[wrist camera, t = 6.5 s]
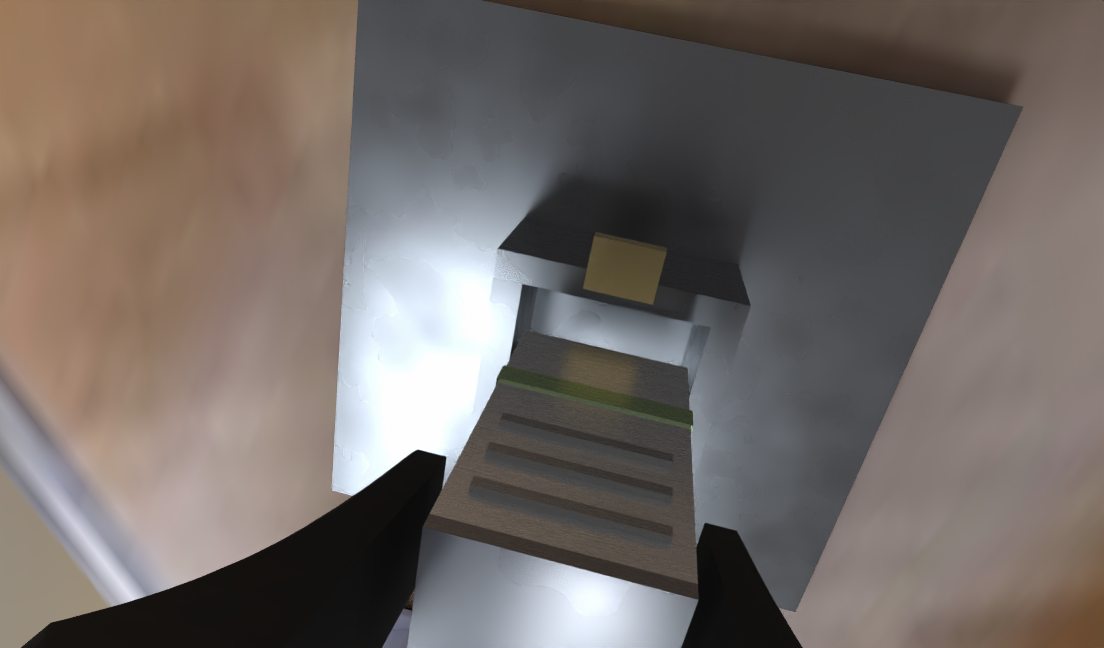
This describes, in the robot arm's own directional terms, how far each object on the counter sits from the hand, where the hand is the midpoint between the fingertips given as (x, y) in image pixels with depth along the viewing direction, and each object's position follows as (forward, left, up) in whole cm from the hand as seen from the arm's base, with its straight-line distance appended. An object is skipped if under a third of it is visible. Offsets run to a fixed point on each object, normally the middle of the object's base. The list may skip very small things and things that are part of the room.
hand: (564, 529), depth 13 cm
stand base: (0, 0, -10) cm, 10 cm away
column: (0, 0, -4) cm, 4 cm away
